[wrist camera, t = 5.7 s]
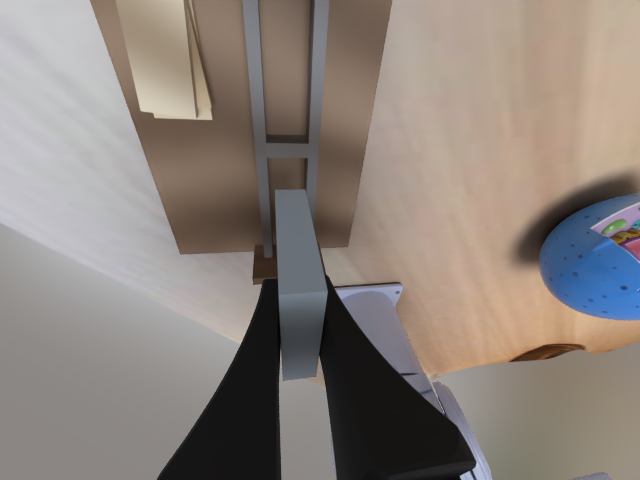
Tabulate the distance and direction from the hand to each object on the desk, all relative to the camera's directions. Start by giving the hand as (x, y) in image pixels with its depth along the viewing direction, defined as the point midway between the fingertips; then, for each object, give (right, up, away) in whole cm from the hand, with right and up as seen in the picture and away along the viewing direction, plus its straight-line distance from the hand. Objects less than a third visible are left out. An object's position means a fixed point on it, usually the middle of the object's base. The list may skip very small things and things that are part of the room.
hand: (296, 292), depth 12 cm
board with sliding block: (-3, +9, +4) cm, 10 cm away
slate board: (-1, +3, +3) cm, 4 cm away
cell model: (+26, +4, +14) cm, 30 cm away
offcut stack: (-6, +11, 0) cm, 13 cm away
